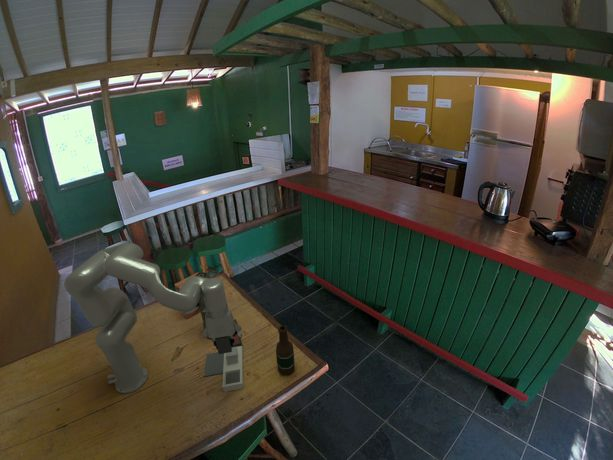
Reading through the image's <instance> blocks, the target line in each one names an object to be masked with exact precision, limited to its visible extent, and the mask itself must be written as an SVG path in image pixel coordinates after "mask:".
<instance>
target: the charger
mask: <svg viewBox="0 0 613 460" xmlns="http://www.w3.org/2000/svg"><path fill="white" fill-rule="evenodd" d="M215 340H216V345H217V349H216V350H217V352H218V353H219V354H223V353H229V352H232V347H231V343H230V336H225V337H219V338H215Z"/></svg>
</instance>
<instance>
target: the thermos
mask: <svg viewBox="0 0 613 460" xmlns="http://www.w3.org/2000/svg"><path fill="white" fill-rule="evenodd" d="M195 276H199V277H204V278H208V279H210V278H211V276H210V275H209V273H208V272H204V271H201V272H198V274H196V275H195ZM196 307H198V308H199V309H200V315H201V319H202V328H203V331H204V330H205V329H206V323H205V315H206V312H202V309H204V308H206V306H205V302H204V298H203V296H202V297H201V298H200V300H199V302H198V304H197V305H196Z"/></svg>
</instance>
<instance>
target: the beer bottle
mask: <svg viewBox="0 0 613 460" xmlns="http://www.w3.org/2000/svg"><path fill="white" fill-rule="evenodd" d="M278 335H279V337H278V339H279V340H278V342H277V343H276V348H275V356H276V365H277V366H276V367H277V371H278V373H280V374H281V375H282V376H290V375H292V373H294V371H295V364H296V363H295V351H294V344H293V343H292V342H291V341H290V340H289V336H288V327H287V326H286V325H280V326H278Z"/></svg>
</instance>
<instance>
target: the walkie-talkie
mask: <svg viewBox="0 0 613 460" xmlns="http://www.w3.org/2000/svg"><path fill="white" fill-rule="evenodd" d="M234 322H235V323H236V324H238V321H237V319H236V318H235V319H234ZM238 325H239V324H238ZM242 337H243V332H242V330H241V331H240V332H238V333H237V335H236V336H235V337H234V340H235V343H233V347H238V346H242V347H243V343H242V340H241V339H242Z"/></svg>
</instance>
